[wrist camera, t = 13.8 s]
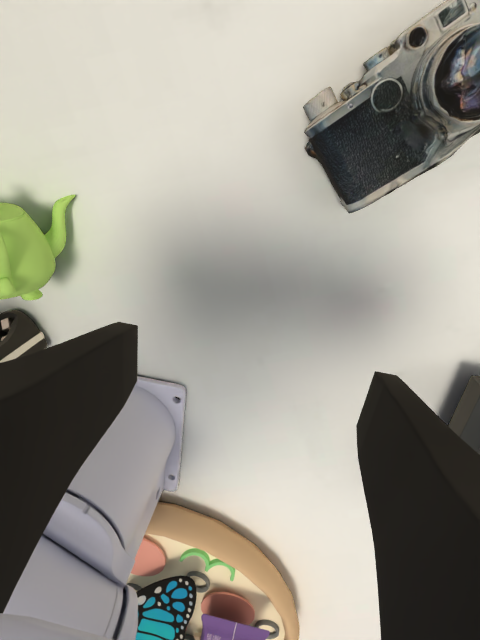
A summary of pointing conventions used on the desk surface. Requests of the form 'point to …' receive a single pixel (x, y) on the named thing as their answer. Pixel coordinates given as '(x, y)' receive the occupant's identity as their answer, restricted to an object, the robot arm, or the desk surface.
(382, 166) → the camera
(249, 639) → the snack package
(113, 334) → the robot arm
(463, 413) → the black square base
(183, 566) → the toy pizza
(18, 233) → the whimsical teapot
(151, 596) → the butterfly
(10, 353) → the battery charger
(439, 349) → the desk surface
